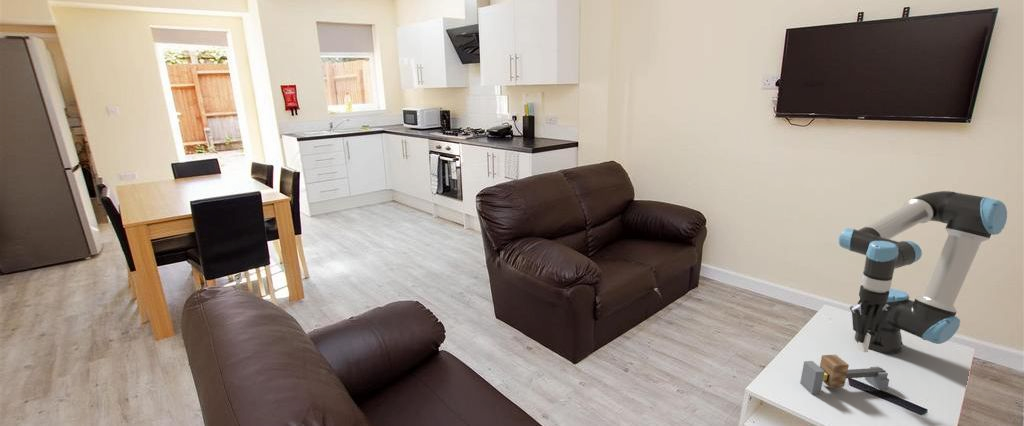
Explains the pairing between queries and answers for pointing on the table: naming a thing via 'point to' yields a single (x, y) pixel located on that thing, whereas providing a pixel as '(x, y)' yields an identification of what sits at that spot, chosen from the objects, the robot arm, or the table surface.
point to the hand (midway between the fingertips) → (862, 349)
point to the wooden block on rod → (834, 370)
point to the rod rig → (873, 375)
